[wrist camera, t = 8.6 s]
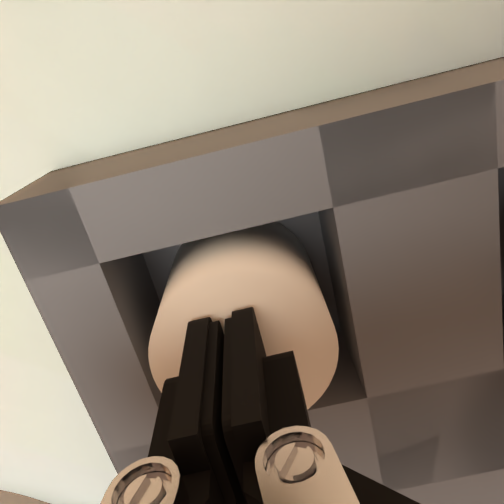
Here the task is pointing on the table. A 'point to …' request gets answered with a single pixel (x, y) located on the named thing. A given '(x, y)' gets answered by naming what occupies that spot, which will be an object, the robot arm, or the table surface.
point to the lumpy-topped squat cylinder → (17, 499)
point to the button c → (248, 301)
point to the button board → (323, 263)
